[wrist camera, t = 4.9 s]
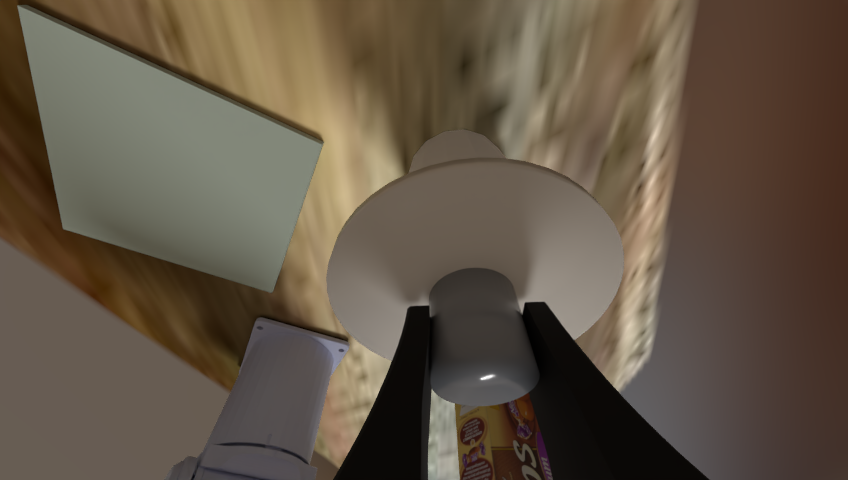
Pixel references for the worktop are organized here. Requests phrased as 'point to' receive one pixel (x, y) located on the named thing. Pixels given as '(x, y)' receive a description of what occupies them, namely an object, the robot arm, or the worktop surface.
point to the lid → (475, 269)
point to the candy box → (501, 442)
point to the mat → (164, 158)
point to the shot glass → (454, 148)
